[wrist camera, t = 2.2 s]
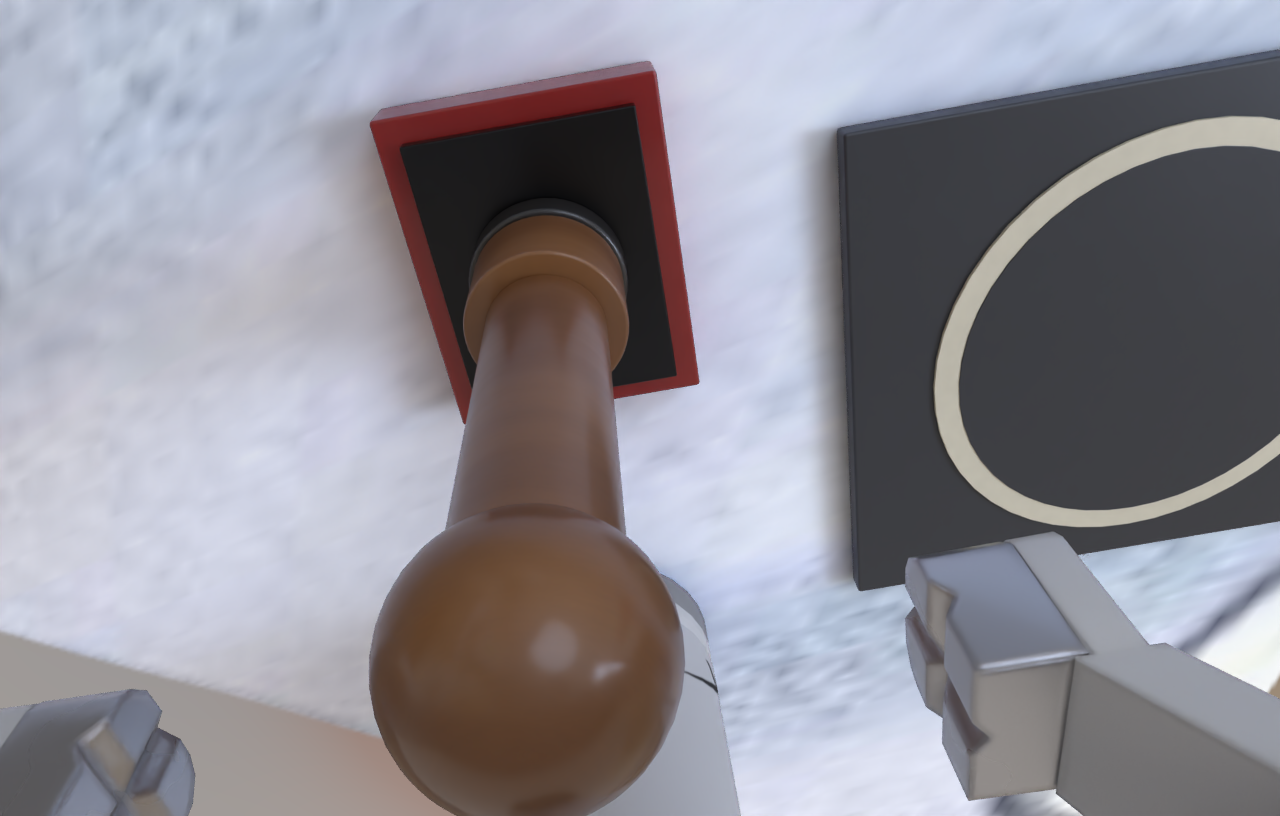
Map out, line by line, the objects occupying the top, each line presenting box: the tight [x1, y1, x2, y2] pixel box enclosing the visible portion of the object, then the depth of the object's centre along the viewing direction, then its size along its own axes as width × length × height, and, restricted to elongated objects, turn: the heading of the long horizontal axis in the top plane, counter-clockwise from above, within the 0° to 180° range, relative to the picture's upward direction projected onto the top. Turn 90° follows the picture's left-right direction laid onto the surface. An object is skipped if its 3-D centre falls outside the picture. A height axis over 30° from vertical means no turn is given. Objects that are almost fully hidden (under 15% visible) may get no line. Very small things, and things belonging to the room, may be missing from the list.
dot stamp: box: [369, 198, 685, 816], centre depth 13 cm, size 3×3×12 cm
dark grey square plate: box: [837, 50, 1280, 591], centre depth 21 cm, size 13×15×1 cm
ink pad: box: [370, 61, 699, 424], centre depth 19 cm, size 7×6×2 cm
